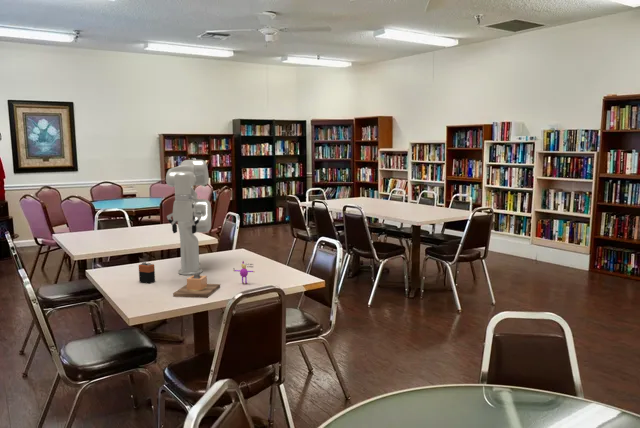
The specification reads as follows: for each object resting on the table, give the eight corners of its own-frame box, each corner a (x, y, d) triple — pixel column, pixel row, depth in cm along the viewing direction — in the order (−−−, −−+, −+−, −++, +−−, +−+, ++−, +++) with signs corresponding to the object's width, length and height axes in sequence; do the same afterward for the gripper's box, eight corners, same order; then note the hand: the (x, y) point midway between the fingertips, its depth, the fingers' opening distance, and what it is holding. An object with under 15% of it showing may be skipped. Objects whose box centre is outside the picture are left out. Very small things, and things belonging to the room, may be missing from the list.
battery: (145, 280, 257) (144, 261, 255) (155, 281, 254) (154, 262, 253) (139, 282, 253) (138, 263, 251) (149, 283, 250) (148, 264, 249)
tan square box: (192, 285, 239) (192, 275, 238) (206, 286, 238) (206, 275, 237) (187, 289, 232) (186, 279, 231) (201, 290, 231) (201, 279, 231)
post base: (188, 286, 245) (188, 268, 244) (220, 287, 243) (219, 269, 242) (173, 296, 227) (172, 277, 226) (207, 297, 225) (206, 278, 224)
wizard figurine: (255, 283, 249) (255, 260, 247) (253, 285, 246) (253, 261, 244) (234, 282, 251) (234, 259, 250) (232, 284, 248) (231, 260, 247)
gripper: (203, 197, 245) (204, 232, 247) (169, 197, 247) (170, 231, 249) (197, 199, 237) (198, 234, 239) (162, 198, 239) (164, 234, 242)
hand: (184, 233), depth 244 cm, fingers open, 9 cm apart
